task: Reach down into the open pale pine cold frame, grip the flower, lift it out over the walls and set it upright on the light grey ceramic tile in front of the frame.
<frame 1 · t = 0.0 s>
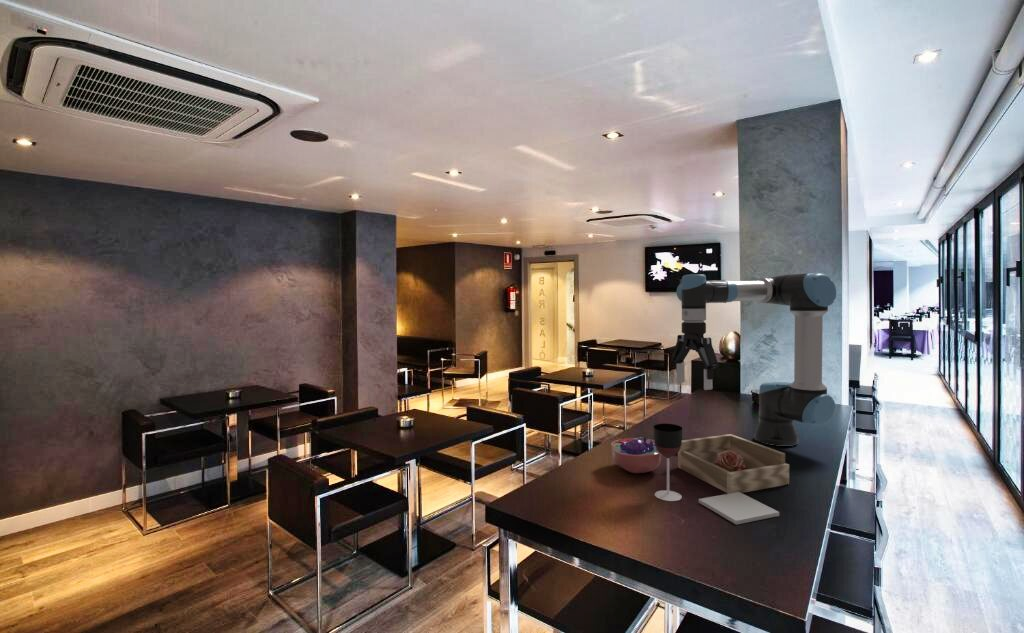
hand: (693, 385, 160), 28 cm above the table, tool pointing down, fingers open, 13 cm apart
tile: (737, 508, 131), on the table
hardcover book: (665, 448, 185), on the table
flower: (730, 476, 155), on the table
wineglass: (668, 496, 141), on the table
cold frame: (730, 475, 155), on the table
cell model: (636, 470, 162), on the table
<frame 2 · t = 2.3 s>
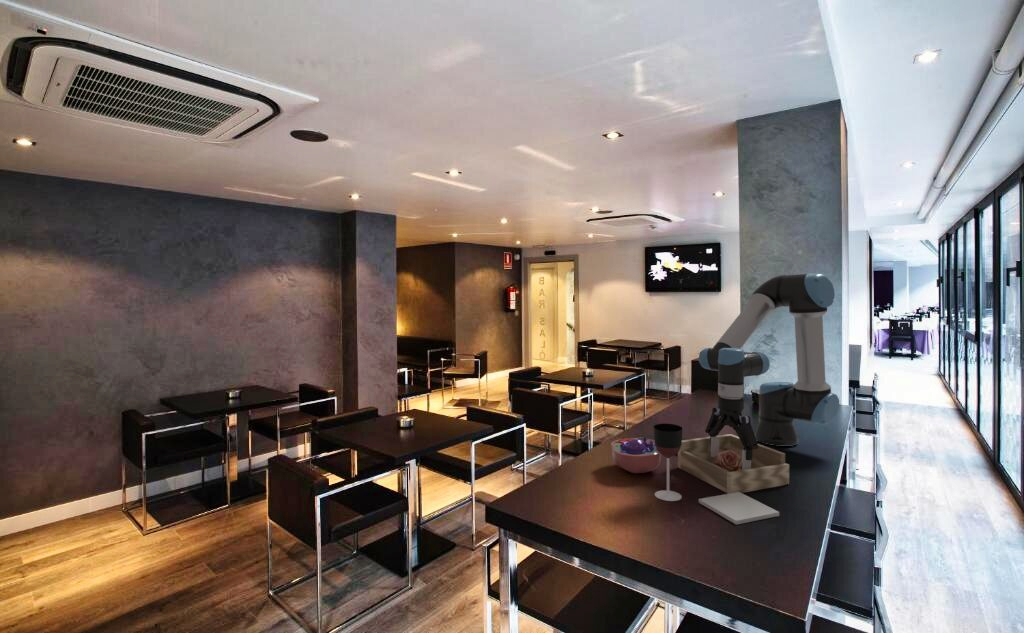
hand: (730, 462, 155), 4 cm above the table, tool pointing down, fingers open, 13 cm apart
nothing on the table moved.
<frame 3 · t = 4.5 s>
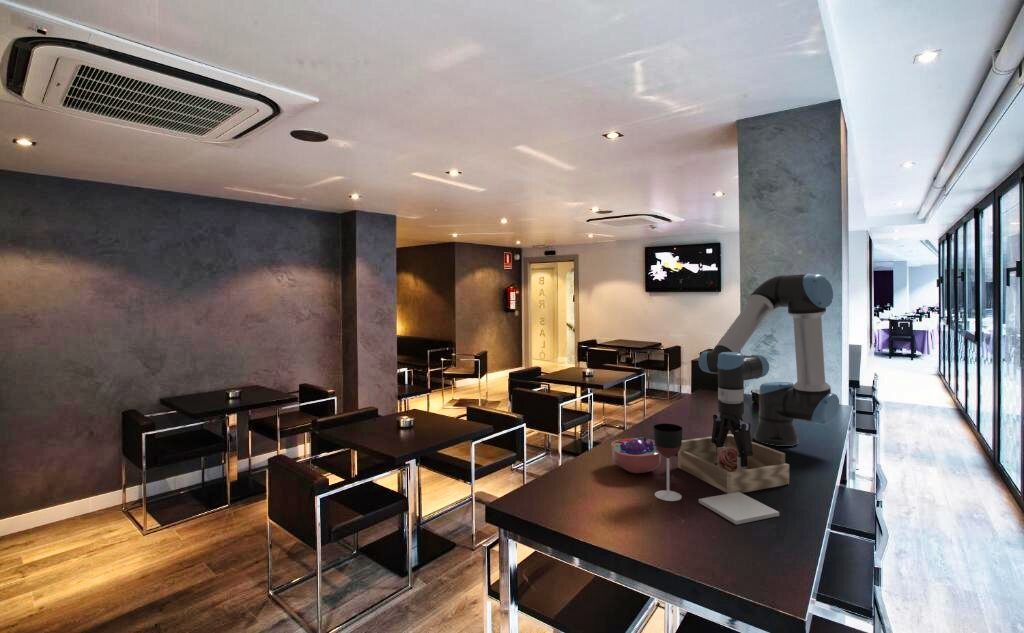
hand: (731, 471, 156), 1 cm above the table, tool pointing down, fingers closed on flower, 8 cm apart
flower: (732, 472, 156), point 1 cm above the table, touching gripper
everything else where it was.
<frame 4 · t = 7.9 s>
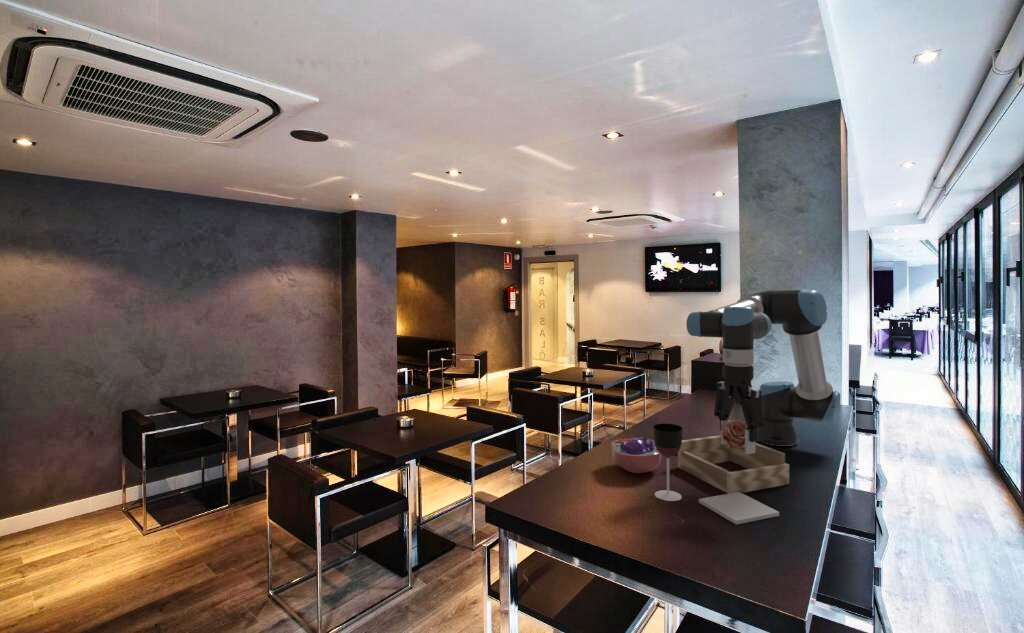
hand: (737, 448, 131), 17 cm above the table, tool pointing down, fingers closed on flower, 8 cm apart
flower: (738, 450, 131), point 16 cm above the table, touching gripper
everything else where it was.
when the fingers open (2 cm above the table, at t = 11.4 s): flower stays where it is, resting on tile.
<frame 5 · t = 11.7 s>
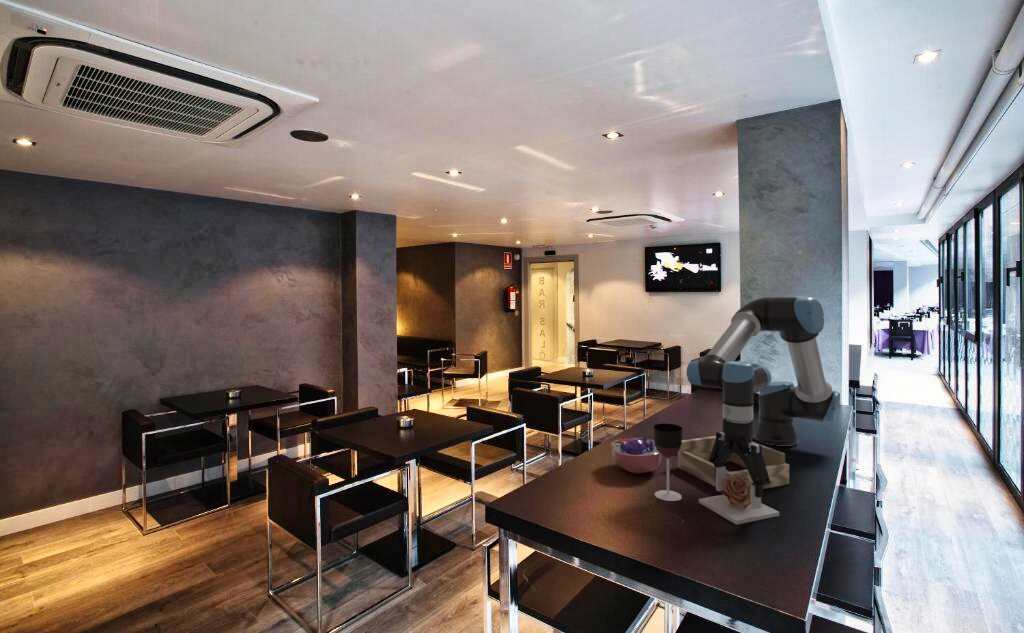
hand: (737, 498, 131), 3 cm above the table, tool pointing down, fingers open, 12 cm apart
flower: (738, 505, 131), point 1 cm above the table, touching tile
everything else where it was.
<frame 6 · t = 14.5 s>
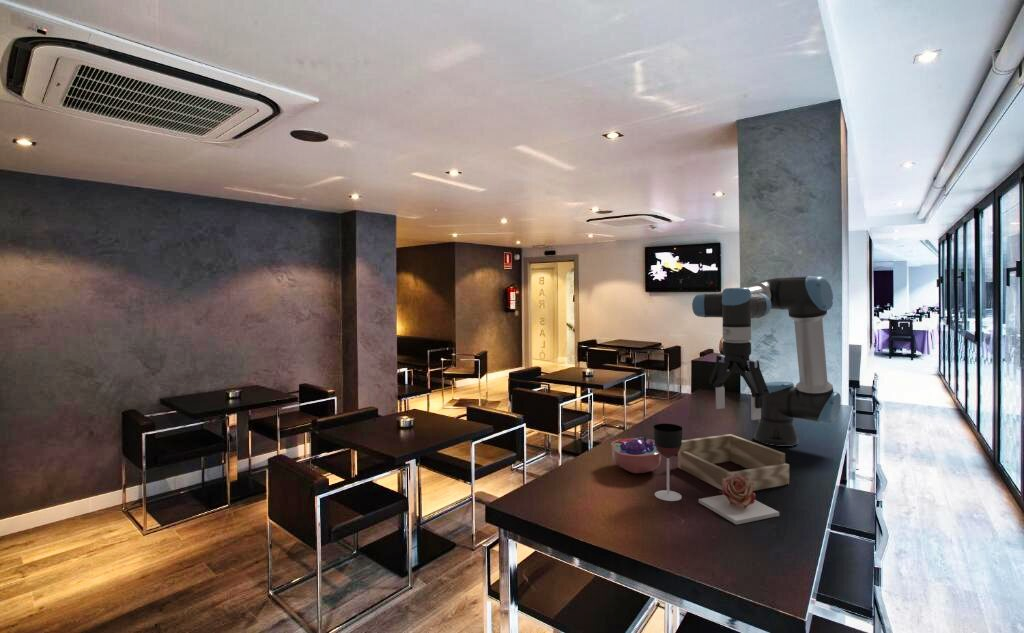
hand: (737, 413, 141), 23 cm above the table, tool pointing down, fingers open, 13 cm apart
nothing on the table moved.
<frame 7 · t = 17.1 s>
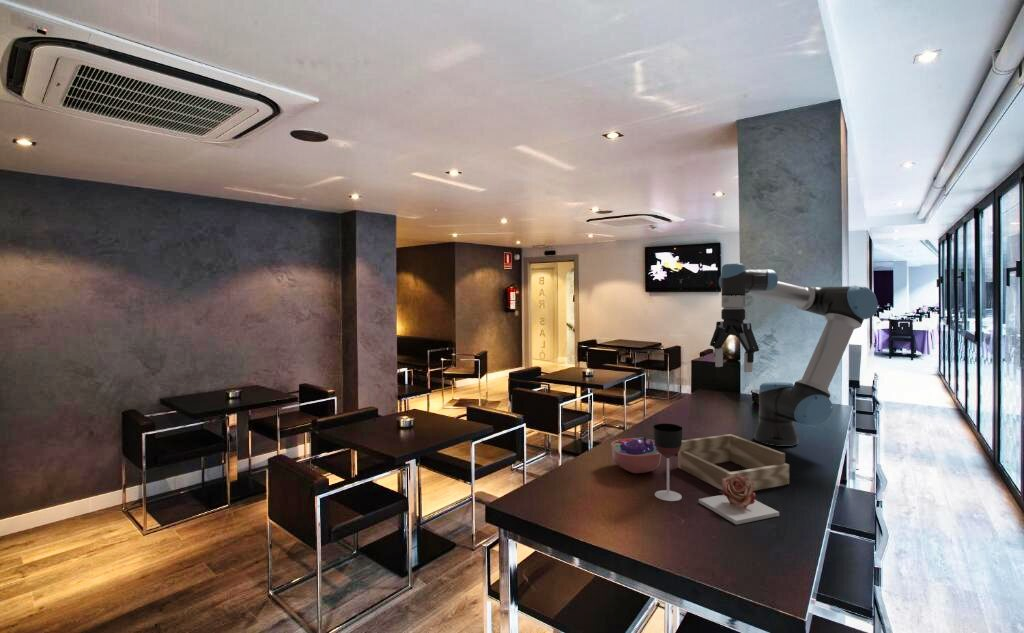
hand: (733, 369, 169), 32 cm above the table, tool pointing down, fingers open, 13 cm apart
nothing on the table moved.
at the end: flower inside the target area on the tile (0.2 cm from its centre), point 0.8 cm above the tile's base; flower tilted 0°; the gripper is holding nothing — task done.
